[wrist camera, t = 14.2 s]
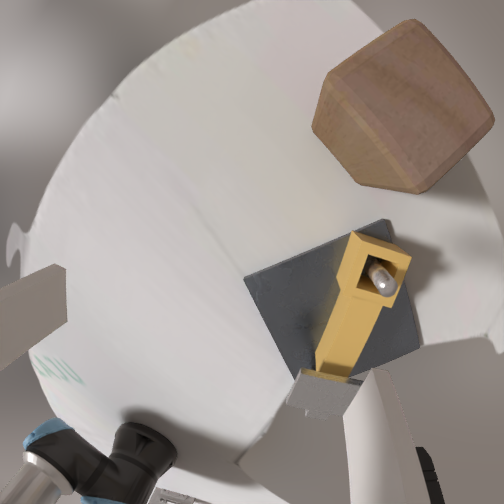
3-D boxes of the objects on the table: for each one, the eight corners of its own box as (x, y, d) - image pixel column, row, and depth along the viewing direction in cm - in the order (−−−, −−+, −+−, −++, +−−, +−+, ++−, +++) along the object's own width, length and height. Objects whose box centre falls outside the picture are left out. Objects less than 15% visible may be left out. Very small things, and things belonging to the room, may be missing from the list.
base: (301, 388, 44) (299, 438, 33) (244, 277, 40) (226, 312, 30) (418, 344, 39) (442, 387, 29) (382, 218, 36) (412, 235, 25)
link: (351, 230, 36) (361, 240, 30) (395, 244, 35) (411, 257, 29) (307, 350, 41) (307, 375, 35) (347, 360, 40) (352, 385, 34)
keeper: (301, 330, 41) (300, 373, 31) (363, 346, 40) (377, 388, 31) (284, 372, 43) (279, 417, 34) (343, 385, 43) (349, 430, 33)
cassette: (194, 496, 60) (187, 516, 52) (195, 499, 60) (188, 518, 53) (155, 486, 61) (146, 504, 54) (156, 488, 62) (148, 506, 55)
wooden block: (363, 83, 32) (415, 10, 12) (412, 142, 32) (503, 121, 13) (307, 127, 34) (318, 75, 15) (359, 188, 35) (421, 202, 16)
